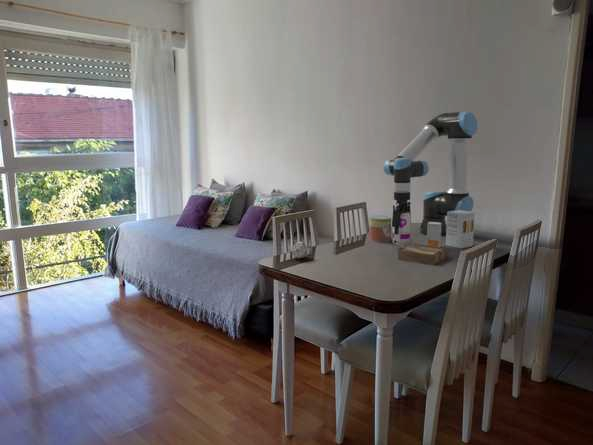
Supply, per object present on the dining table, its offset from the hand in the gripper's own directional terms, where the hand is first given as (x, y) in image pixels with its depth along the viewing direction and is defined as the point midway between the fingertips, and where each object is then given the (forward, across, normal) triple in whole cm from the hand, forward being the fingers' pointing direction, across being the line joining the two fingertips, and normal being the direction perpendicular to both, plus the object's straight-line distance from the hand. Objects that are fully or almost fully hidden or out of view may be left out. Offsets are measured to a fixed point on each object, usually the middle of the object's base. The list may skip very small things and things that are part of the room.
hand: (401, 238), depth 215 cm
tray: (+5, +10, +15) cm, 18 cm away
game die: (+4, +42, -29) cm, 51 cm away
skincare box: (+6, -12, +11) cm, 17 cm away
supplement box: (+6, -22, +20) cm, 31 cm away
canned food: (+5, -12, -18) cm, 23 cm away
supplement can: (+3, 0, 0) cm, 3 cm away
